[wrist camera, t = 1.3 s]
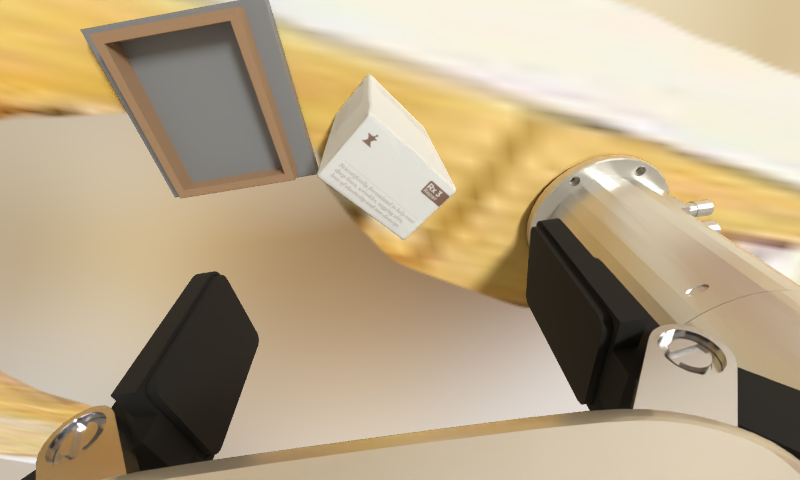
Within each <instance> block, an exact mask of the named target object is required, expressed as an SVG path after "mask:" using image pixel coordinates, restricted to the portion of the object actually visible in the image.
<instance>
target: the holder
mask: <svg viewBox="0 0 800 480" xmlns="http://www.w3.org/2000/svg"><path fill="white" fill-rule="evenodd" d="M81 32H82V33H83V35H84V37H85V39H86V41H87V42H88V44H89V46H90V48H91V49H92V51H93V53H94V55H95V56H96V58H97V60H98V62H99V64H100V65H101V67H102V69H103V71H104V72H105V74H106V76H107V78H108V79H109V81H110V83H111V85H112V87H113V88H114V90H115V92H116V94H117V95H118V97H119V99H120V101H121V102H122V104H123V106H124V108H125V110H126V111H127V113H128V115H129V117H130V118H131V120H132V122H133V124H134V125H135V127H136V129H137V131H138V133H139V134H140V136H141V138H142V139H143V141H144V143H145V145H146V146H147V148H148V150H149V152H150V154H151V155H152V157H153V159H154V161H155V163H156V164H157V166H158V168H159V169H160V171H161V173H162V175H163V176H164V178H165V180H166V182H167V184H168V185H169V187H170V189H171V191H172V193H173V194H174V196H175V197H180V198H186V197H192V196H198V195H205V194H210V193H217V192H223V191H229V190H235V189H241V188H248V187H254V186H260V185H266V184H272V183H278V182H285V181H291V180H295V179H296V177H303V176H309V175H315V174H317V173H318V165H317V162H316V158H315V155H314V152H313V148H312V145H311V142H310V138H309V135H308V131H307V128H306V125H305V121H304V118H303V115H302V111H301V108H300V104H299V101H298V98H297V94H296V91H295V88H294V84H293V81H292V77H291V74H290V71H289V67H288V64H287V61H286V57H285V54H284V50H283V47H282V44H281V40H280V37H279V34H278V30H277V27H276V23H275V20H274V17H273V13H272V10H271V7H270V3H269V0H238V1H232V2H227V3H221V4H216V5H211V6H205V7H200V8H194V9H189V10H184V11H178V12H173V13H167V14H162V15H157V16H151V17H146V18H140V19H135V20H130V21H124V22H119V23H113V24H108V25H103V26H97V27H92V28H86V29H81Z"/></svg>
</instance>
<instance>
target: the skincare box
mask: <svg viewBox="0 0 800 480" xmlns="http://www.w3.org/2000/svg"><path fill="white" fill-rule="evenodd" d="M317 176H318V178H320V179H321V180H322V181H323V182H325V183H326V184H328V185H329V186H330V187H332V188H333V189H335V190H336V191H337V192H339V193H340V194H341V195H343V196H344V197H346V198H347V199H348V200H350V201H351V202H352V203H354V204H355V205H357V206H358V207H359V208H361V209H362V210H363V211H365V212H366V213H367V214H369V215H370V216H372V217H373V218H374V219H376V220H377V221H379V222H380V223H381V224H383V225H384V226H385V227H387V228H388V229H389V230H391V231H392V232H393V233H395V234H396V235H398V236H399V237H400V238H401V239H403V240H405V239H406V238H407V237H408V236H409V235H410V234H411V233H412V232H413V231H414V230H415V229H417V228H418V227H419V226H420V225H421V224H422V223H423V222H424V221H425V220H426V219H427V218H428V217H429V216H430V215H431V214H433V213H434V212H435V211H436V210H437V209H438V208H439V207H440V206H441V205H442V204H443V203H444V202H445V201H447V200H448V199H449V198H450V197H451V196H452V195H453V194H454V193H455V192H456V189H455V186H454V184H453V182H452V180H451V178H450V176H449V174H448V172H447V170H446V169H445V167H444V165H443V163H442V161H441V159H440V157H439V155H438V153H437V151H436V150H435V148H434V146H433V144H432V142H431V140H430V138H429V136H428V134H427V132H426V130H425V129H424V127H423V126H422V125H421V124H420V123H419V122H418V121H417V120H416V119H415V118H414V117H413V116H412V115H411V114H410V113H409V112H408V111H407V110H406V109H405V108H404V107H403V106H402V105H401V104H400V103H399V102H398V101H397V100H396V99H395V98H394V97H393V96H392V95H391V94H390V93H389V92H388V91H387V90H386V89H385V88H384V87H383V86H381V85H380V84H379V83H378V82H377V81H376V80H375V79H374V78H373V77H372V76H371V75H370V74H368V75H367V76H366V77H365V78H364V80H363V81H362V82H361V83H360V85H359V86H358V87H357V88H356V89H355V91H354V92H353V93H352V94H351V96H350V97H349V98H348V99H347V101H346V102H345V103H344V104H343V106H342V107H341V108H340V109H339V111H338V112H337V113H336V115H335V119H334V122H333V125H332V129H331V132H330V135H329V138H328V141H327V144H326V147H325V151H324V153H323V157H322V161H321V163H320V166H319V169H318V173H317Z"/></svg>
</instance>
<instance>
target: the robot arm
mask: <svg viewBox="0 0 800 480" xmlns="http://www.w3.org/2000/svg"><path fill="white" fill-rule="evenodd" d="M713 209H714V206H713V203H712V202H711V201H710V200H706V199H705V200H699V201H692V202H689V203H683V202H681V201H680V200H678V199H676V198H675V197H673V196H672V195H670V194H669V187H668V185H667V182H666V180H665V178H664V176H663V175H662V174H661V173H660V171H659V170H658V169H656V168H655V167H653V166H652V165H651V164H649V163H647V162H645V161H643V160H641V159H639V158H636V157H632V156H628V155H607V156H601V157H596V158H593V159H590V160H587V161H584V162H582V163H580V164H578V165H576V166H574V167H572V168H570V169H568V170H567V171H566V172H564V173H563V174H561V175H560V176H559V177H557V178H556V179H555V180H554V181H553V182H552V183H551V184H550V185H549V186H548V187H546V189H545V190H544V191H543V193H542V194H541V195H540V196H539V198H538V199H537V201H536V203H535V204H534V206H533V208H532V210H531V213H530V216H529V219H528V223H527V231H526V233H527V242H528V245H529V260H528V274H527V289H526V298H527V302H528V305H529V307H530V309H531V311H532V313H533V315H534V317H535V319H536V321H537V322H538V324H539V326H540V328H541V330H542V332H543V334H544V336H545V338H546V340H547V342H548V344H549V346H550V348H551V350H552V351H553V353H554V355H555V357H556V359H557V361H558V363H559V365H560V367H561V369H562V371H563V373H564V375H565V377H566V378H567V381H568V382H569V384H570V386H571V388H572V390H573V392H574V394H575V396H576V398H577V400H578V401H579V402H580V403H581V404H587V406H588V408H589V410H590V411H583V412H575V413H565V414H556V415H548V416H539V417H530V418H521V419H513V420H505V421H498V422H490V423H483V424H475V425H467V426H460V427H451V428H444V429H437V430H428V431H421V432H414V433H406V434H398V435H391V436H384V437H376V438H369V439H361V440H354V441H347V442H339V443H332V444H324V445H317V446H310V447H302V448H295V449H288V450H281V451H274V452H267V453H259V454H254V455H253V454H252V455H245V456H238V457H231V458H224V459H217V460H213V458H214V455H215V454H217V453H218V452H219V451H220V450H221V447H222V445H223V442H224V439H225V436H226V434H227V431H228V428H229V425H230V422H231V419H232V417H233V414H234V411H235V408H236V406H237V403H238V400H239V397H240V394H241V392H242V389H243V386H244V383H245V380H246V378H247V375H248V372H249V369H250V366H251V364H252V361H253V358H254V355H255V353H256V350H257V347H258V342H259V338H258V334H257V332H256V330H255V328H254V326H253V325H252V323H251V321H250V319H249V317H248V316H247V314H246V312H245V310H244V309H243V307H242V305H241V303H240V301H239V299H238V298H237V296H236V294H235V292H234V290H233V289H232V287H231V285H230V283H229V282H228V280H227V278H226V277H225V276H224V275H220V274H219V273H218V272H215V271H214V272H208V273H202V274H197V275H195V276H194V277H193V278H192V279H191V281H190V282H189V284H188V285H187V287H186V288H185V289H184V291H183V292H182V294H181V295H180V297H179V298H178V299H177V301H176V302H175V304H174V305H173V307H172V308H171V309H170V311H169V312H168V314H167V315H166V317H165V318H164V319H163V321H162V322H161V324H160V325H159V327H158V328H157V330H156V331H155V332H154V334H153V335H152V337H151V338H150V340H149V341H148V343H147V344H146V346H145V347H144V348H143V350H142V351H141V353H140V354H139V355H138V357H137V358H136V360H135V361H134V363H133V364H132V366H131V367H130V368H129V370H128V371H127V373H126V374H125V376H124V377H123V379H122V380H121V381H120V383H119V384H118V386H117V387H116V389H115V390H114V392H113V393H112V394H111V397H113V398H114V399H115V400H116V402H115V403H114V405H113V406H112V408H110V407H108V406H95V407H92V408H89V409H86V410H84V411H82V412H80V413H79V414H77V415H75V416H73V417H72V418H71V419H69V420H68V421H66V422H65V423H63V424H62V425H61V426H60V427H59V428H58V429H57V430H56V431H55V432H53V434H52V435H51V436H50V437H49V438H48V440H47V441H46V442H45V443H44V445H43V446H42V448H41V450H40V452H39V453H38V457H37V461H36V470H35V471H33V472H32V473H30V474H29V475H27V476H26V477H24V478H23V479H22V480H800V285H798V284H797V283H795V282H793V281H792V280H790V279H789V278H787V277H786V276H784V275H783V274H781V273H780V272H778V271H776V270H775V269H773V268H772V267H770V266H769V265H767V264H766V263H764V262H763V261H761V260H760V259H758V258H756V257H755V256H753V255H752V254H750V253H749V252H747V251H746V250H744V249H743V248H741V247H739V246H738V245H736V244H735V243H733V242H732V241H730V240H729V239H727V238H726V237H724V236H722V235H721V234H720V231H721V229H720V227H719V224H718V223H717V222H716V221H714V220H711V219H709V220H703V221H699V220H698V219H696V218H695V217H700V216H707V215H710V214H712V212H713Z"/></svg>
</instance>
